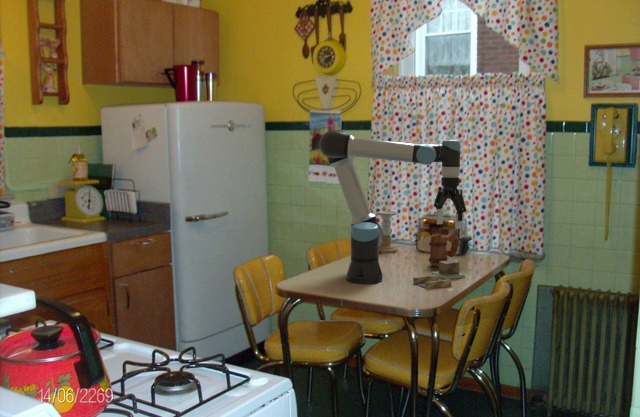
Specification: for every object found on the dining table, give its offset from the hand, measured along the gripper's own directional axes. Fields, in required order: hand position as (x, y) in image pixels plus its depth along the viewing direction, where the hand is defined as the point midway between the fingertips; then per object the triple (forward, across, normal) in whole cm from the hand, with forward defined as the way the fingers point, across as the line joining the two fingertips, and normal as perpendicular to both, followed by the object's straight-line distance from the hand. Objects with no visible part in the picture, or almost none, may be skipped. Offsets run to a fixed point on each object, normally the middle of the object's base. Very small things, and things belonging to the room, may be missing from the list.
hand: (448, 226), depth 277 cm
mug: (+22, +18, -10) cm, 30 cm away
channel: (+22, -10, +15) cm, 28 cm away
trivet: (+22, 0, 0) cm, 22 cm away
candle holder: (+22, +60, -4) cm, 64 cm away
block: (+20, 0, 0) cm, 20 cm away
